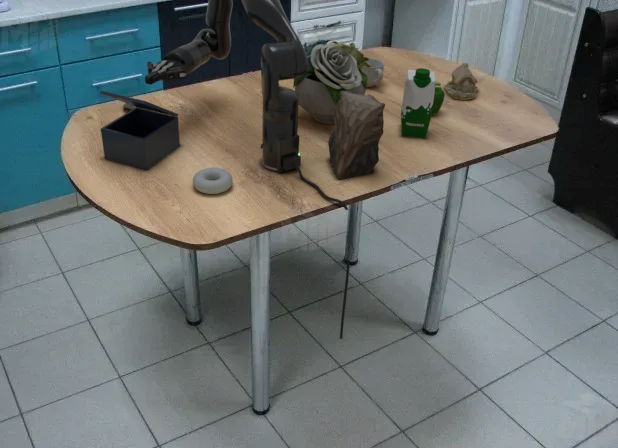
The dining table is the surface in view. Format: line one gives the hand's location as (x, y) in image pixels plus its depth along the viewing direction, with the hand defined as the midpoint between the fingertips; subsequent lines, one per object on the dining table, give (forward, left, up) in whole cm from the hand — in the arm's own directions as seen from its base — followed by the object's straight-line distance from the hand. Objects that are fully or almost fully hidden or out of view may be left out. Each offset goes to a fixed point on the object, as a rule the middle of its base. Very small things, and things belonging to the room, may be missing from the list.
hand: (147, 80), depth 176 cm
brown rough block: (-40, -38, -19) cm, 58 cm away
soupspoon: (+18, -4, -19) cm, 26 cm away
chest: (-2, +4, -19) cm, 19 cm away
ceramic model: (-18, -105, -19) cm, 108 cm away
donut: (-28, -3, -19) cm, 34 cm away
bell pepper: (-24, -83, -19) cm, 88 cm away
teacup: (+2, -81, -19) cm, 83 cm away
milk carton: (-32, -69, -19) cm, 78 cm away
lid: (-2, +4, -5) cm, 7 cm away
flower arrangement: (-12, -53, -19) cm, 57 cm away
